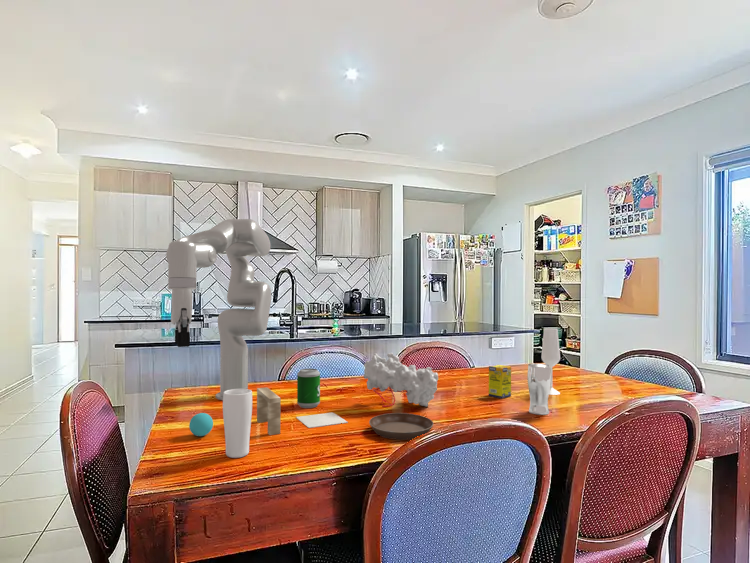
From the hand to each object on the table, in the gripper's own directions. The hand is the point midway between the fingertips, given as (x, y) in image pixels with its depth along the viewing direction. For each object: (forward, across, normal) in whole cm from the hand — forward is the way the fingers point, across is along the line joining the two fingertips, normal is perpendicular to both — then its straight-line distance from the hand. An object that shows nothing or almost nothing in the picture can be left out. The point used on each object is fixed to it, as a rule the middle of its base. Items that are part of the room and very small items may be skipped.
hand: (182, 344), depth 138 cm
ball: (+20, +12, +4) cm, 24 cm away
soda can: (+23, -6, +40) cm, 47 cm away
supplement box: (+23, +11, +107) cm, 110 cm away
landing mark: (+23, +12, +38) cm, 46 cm away
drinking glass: (+23, +31, +10) cm, 40 cm away
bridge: (+23, +12, +22) cm, 34 cm away
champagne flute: (+23, +15, +128) cm, 131 cm away
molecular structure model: (+23, +7, +67) cm, 71 cm away
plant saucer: (+24, +32, +54) cm, 67 cm away
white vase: (+23, +34, +103) cm, 111 cm away
